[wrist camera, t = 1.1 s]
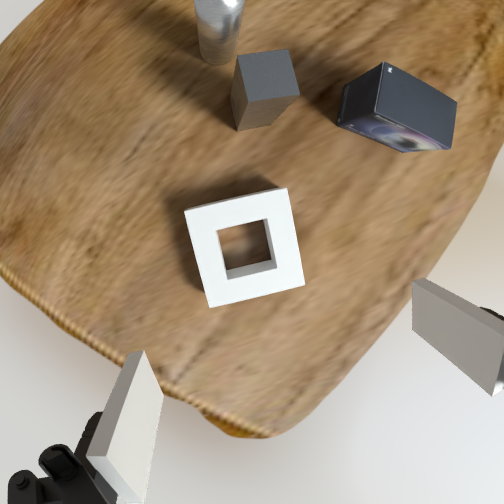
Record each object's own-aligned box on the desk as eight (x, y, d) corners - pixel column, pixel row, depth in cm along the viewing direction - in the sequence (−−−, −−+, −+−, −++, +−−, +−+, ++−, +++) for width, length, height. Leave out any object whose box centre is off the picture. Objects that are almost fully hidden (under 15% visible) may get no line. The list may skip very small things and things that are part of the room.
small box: (334, 128, 36) (372, 113, 26) (343, 83, 35) (381, 57, 25) (403, 155, 38) (452, 152, 27) (410, 113, 36) (458, 99, 26)
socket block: (187, 208, 36) (184, 211, 32) (279, 187, 37) (286, 187, 33) (210, 295, 39) (209, 308, 35) (296, 274, 39) (305, 284, 36)
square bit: (229, 100, 34) (237, 55, 20) (262, 94, 34) (288, 49, 21) (236, 131, 35) (248, 102, 21) (270, 125, 35) (300, 94, 22)
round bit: (197, 39, 32) (189, -24, 18) (232, 32, 32) (241, -31, 18) (203, 68, 33) (197, 12, 19) (239, 61, 33) (252, 4, 19)
